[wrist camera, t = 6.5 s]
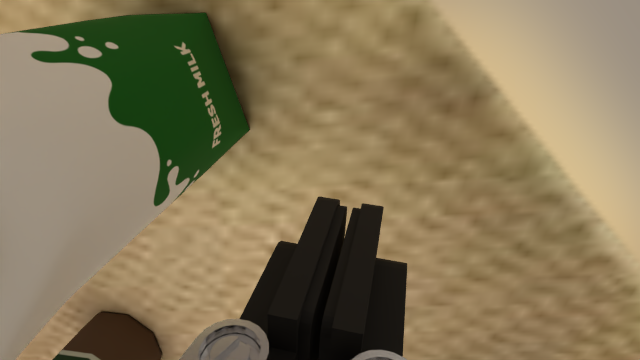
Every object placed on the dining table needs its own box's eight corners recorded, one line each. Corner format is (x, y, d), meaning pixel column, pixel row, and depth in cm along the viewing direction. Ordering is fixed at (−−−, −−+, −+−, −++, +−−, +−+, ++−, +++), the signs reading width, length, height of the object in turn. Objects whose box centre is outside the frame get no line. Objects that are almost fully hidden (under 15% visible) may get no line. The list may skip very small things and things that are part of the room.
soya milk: (268, 140, 25) (-90, 532, 8) (151, 164, 28) (-299, 486, 11) (214, -12, 21) (-661, 75, 4) (87, 34, 24) (-734, 197, 7)
